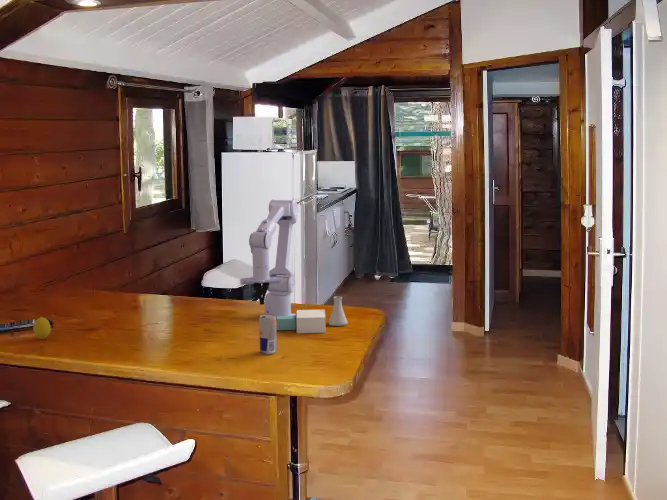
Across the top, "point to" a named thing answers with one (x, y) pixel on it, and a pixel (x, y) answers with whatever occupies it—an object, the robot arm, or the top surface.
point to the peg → (286, 323)
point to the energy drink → (267, 334)
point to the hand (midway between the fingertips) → (262, 303)
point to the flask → (337, 313)
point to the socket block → (310, 321)
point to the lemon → (41, 328)
